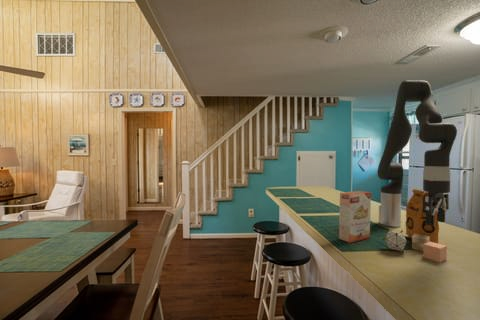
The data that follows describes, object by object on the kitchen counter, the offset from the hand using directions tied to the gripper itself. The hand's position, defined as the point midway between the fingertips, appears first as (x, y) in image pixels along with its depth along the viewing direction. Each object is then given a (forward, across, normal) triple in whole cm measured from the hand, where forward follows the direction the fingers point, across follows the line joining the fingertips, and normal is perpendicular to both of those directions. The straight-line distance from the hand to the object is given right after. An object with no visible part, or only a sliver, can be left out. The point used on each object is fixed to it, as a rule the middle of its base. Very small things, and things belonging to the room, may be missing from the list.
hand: (435, 223), depth 86 cm
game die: (+13, +5, -11) cm, 18 cm away
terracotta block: (+13, 0, 0) cm, 13 cm away
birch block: (+13, -6, -7) cm, 16 cm away
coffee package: (+13, -16, -11) cm, 23 cm away
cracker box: (+13, +7, -27) cm, 31 cm away
